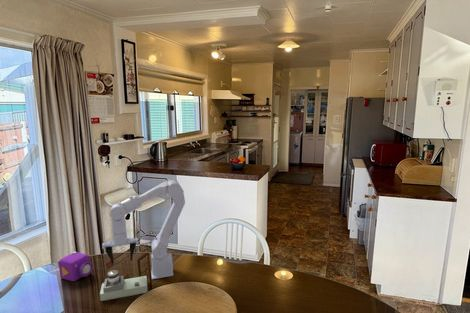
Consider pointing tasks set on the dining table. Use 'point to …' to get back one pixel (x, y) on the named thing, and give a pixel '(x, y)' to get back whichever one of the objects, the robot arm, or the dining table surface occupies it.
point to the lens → (113, 278)
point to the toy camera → (75, 266)
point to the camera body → (123, 288)
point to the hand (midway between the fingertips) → (122, 261)
